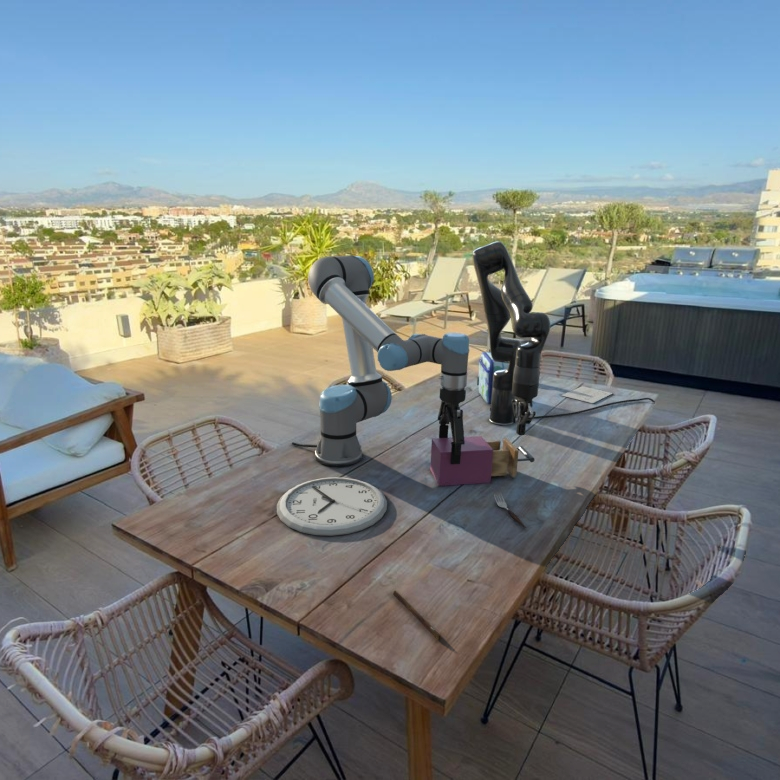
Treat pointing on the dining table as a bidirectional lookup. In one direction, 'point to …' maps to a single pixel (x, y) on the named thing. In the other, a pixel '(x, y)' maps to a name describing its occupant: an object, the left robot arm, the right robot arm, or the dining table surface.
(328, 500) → the wall clock
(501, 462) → the drawer
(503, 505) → the fork
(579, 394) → the invitation card
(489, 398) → the lunch box
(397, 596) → the brown thin rod
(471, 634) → the dining table surface
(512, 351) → the right robot arm
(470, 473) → the magenta rectangular box
